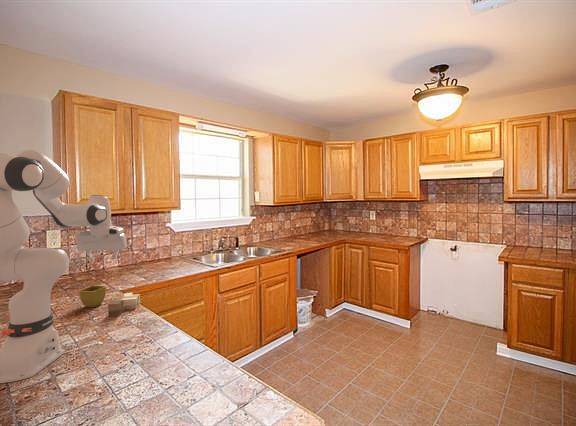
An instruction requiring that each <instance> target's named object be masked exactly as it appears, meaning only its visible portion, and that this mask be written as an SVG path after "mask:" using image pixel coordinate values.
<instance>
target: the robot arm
mask: <svg viewBox="0 0 576 426" xmlns="http://www.w3.org/2000/svg"><path fill="white" fill-rule="evenodd" d="M69 186H70V178H69V176H68V175H67V173H66V171H64V170H63V169H62V168H61V167H60V166H59V165H58V164H57V163H55V162H54V161H53V160H52V159H51V158H50V157H48V156H47V155H45V154H44V153H42V152H40V151H38V150H35V149H26V150H23V151H20V152H18V154H16V155H11V154H7V153H0V281H2V282H11V281H13V282H14V281H15V282H16V281H17V282H18V281H23V287H22V290H19V291H18V292H16V293H15V294H14V295H12V297H10V299H9V301H8V313H9V322H8V326H7V328H3V329H1V332H0V333H1V337H3V336H6V338H5V340H4V342H2V344H1V347H0V384H5V383H11V382H12V383H13V382H19V381H21V380H26V379H29V378H32V377H33V376H36V375H37V374H38V373H39V372H41V371H42V370H43V369H45V368H47V366H49V365H50V364H51V363H53V362H55V360H57V359H58V358H60V357H61V356H63V355H64V354H65V353H66V351H65V349H63V348H62V347H61V342H60V336H59V332H58V330H57V329H56V328H55V327H54V316H53V313H52V309H51V308H52V307H51V293H52V289H53V286H54V285H55V283H56V282H57V280H58V279H59V278H60V277H61V276H63V275H64V274H65V273H66V272H67V271H68V269H69V267H70V257H69V255H68V253H67V252H66V251H65V250H63V249H60V248H52V247H26V246H24V245H23V244H24V243H25V242H27V241H28V240H29V237H30V234H31V229H30V227H29V224H28V223H27V221H26V220H25V218H24V216H23V215H22V212H21V211H20V209H19V208H18V206H17V204H16V203H15V202H14V200H13V195H12V194H13V191H17V192H29V191H32V194H33V195H34V197H35V198H36V200H37V201H38V202H39V203H40V204H41V206H42V207H43V208H45V210H46V211H47V213H49V214H50V215H51V217H52V218H53V220H54V222H55V224H57V225H58V226H59V227H61V228H71V227H89V230H86V231H85V230H84V231H83V230H81V231H79V232H77V233H76V236H75V237H76V240H77V242H76V249H77V251H78V252H86V255H87V256H88V257H89V261H91V262H92V261H96V257H95V255H93V254H92V252H97V251H99V252H100V251H113V252H114V254H113V255H111V257H112V260H117V259H118V253H120V250H125V249H127V247H128V242H127V241H128V240H127V236H126V234H125V233H124V231H125V230H124V228H123V227H120V226H117V225H113V223H112V219H111V218H112V208H111V203H110V199H109V197H107V196H105V195H101V194H100V195H99V194H98V195H97V194H96V195H93V194H92V195H89V197H88V201H86V202H84V203H73V204H72V203H65V202H62V201H61V199H60V197H62V196H63V195H64V194H65V193H67V191H68V190H69Z"/></svg>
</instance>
